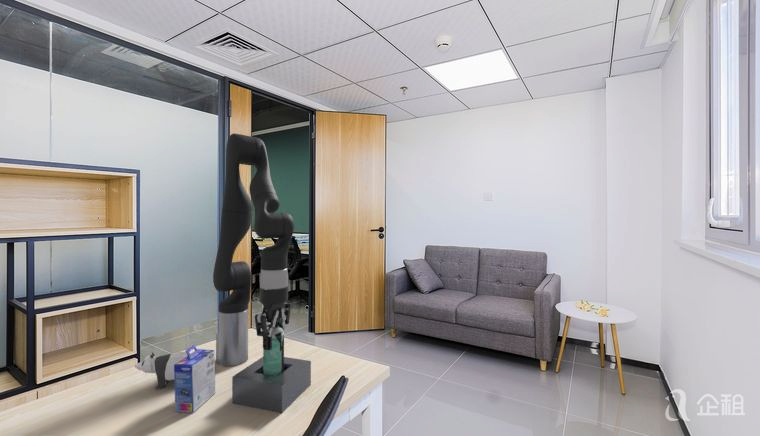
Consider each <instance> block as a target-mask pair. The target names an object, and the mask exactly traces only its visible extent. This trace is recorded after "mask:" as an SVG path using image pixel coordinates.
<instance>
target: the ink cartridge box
mask: <svg viewBox="0 0 760 436" xmlns="http://www.w3.org/2000/svg"><path fill="white" fill-rule="evenodd" d="M191 350H194V351H193V352H192V353H190V352H191ZM184 352H186V353H187V357H185V358H184V359H182V360H181V361H179V362H178V363H176V364H175V365H174V379H173V380H174V401H175V403H174V404H175V408H174V409H175V412H181V413H190V414H192V413H195V412H196V411H197V410H198V409H199V408H200V407H202V405H204V404H205V403H206V402H207V401H208V400H209V399H210V398H211V397H213V395H215V394H216V369H215V368H216V367H215V365H216V364H215V363H216V354H215V350H214V349H202V348H199V349H197V347H196V346H195V344H194V345H191V346H190V347H188V348H186V349H185V351H184ZM189 353H190V354H189Z"/></svg>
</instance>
